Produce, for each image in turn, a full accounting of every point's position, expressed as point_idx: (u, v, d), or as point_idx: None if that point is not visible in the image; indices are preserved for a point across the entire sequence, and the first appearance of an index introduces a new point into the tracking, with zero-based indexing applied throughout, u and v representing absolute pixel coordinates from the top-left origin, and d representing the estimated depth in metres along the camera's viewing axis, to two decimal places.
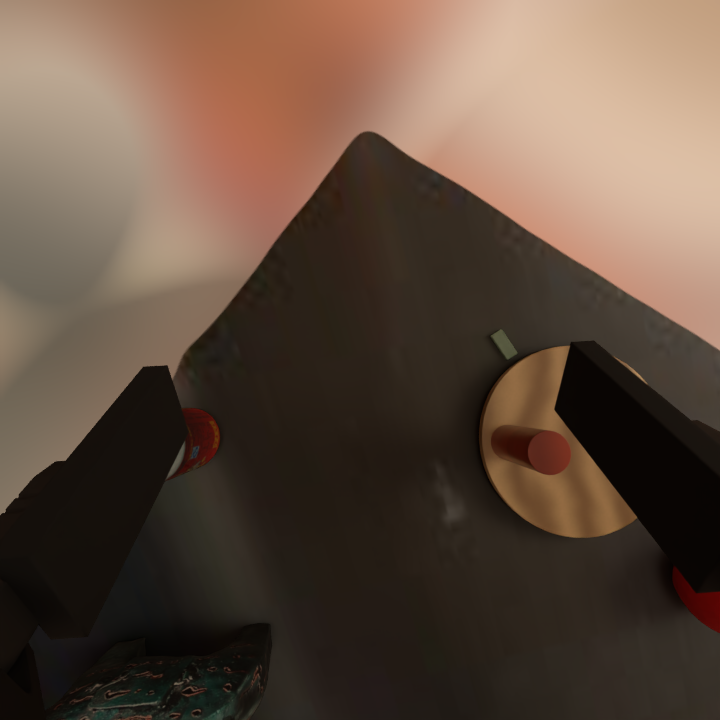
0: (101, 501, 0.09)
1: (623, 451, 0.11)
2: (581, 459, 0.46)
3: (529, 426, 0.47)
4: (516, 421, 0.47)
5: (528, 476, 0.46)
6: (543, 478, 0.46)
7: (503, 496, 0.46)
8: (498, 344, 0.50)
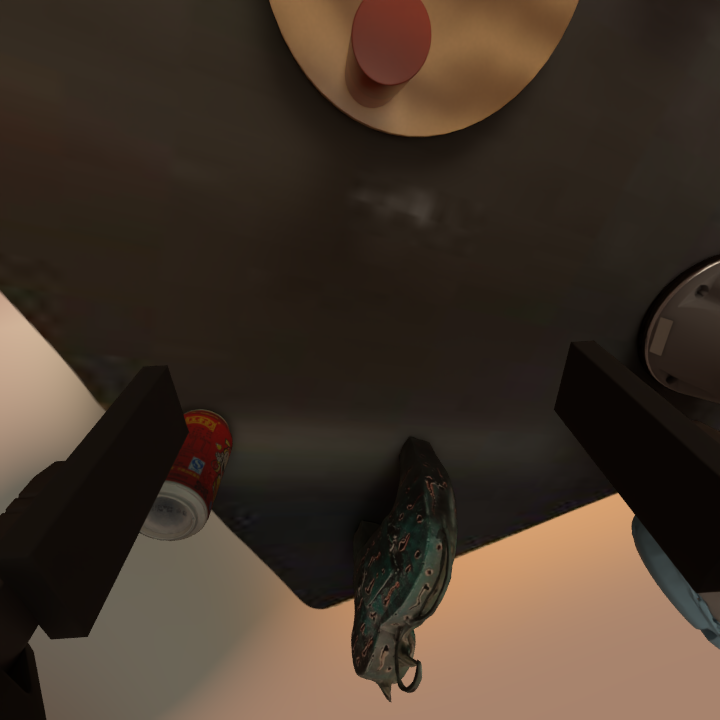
0: (101, 500, 0.09)
1: (623, 451, 0.11)
2: None
3: None
4: (350, 38, 0.28)
5: (435, 74, 0.29)
6: (449, 50, 0.28)
7: (437, 132, 0.31)
8: None
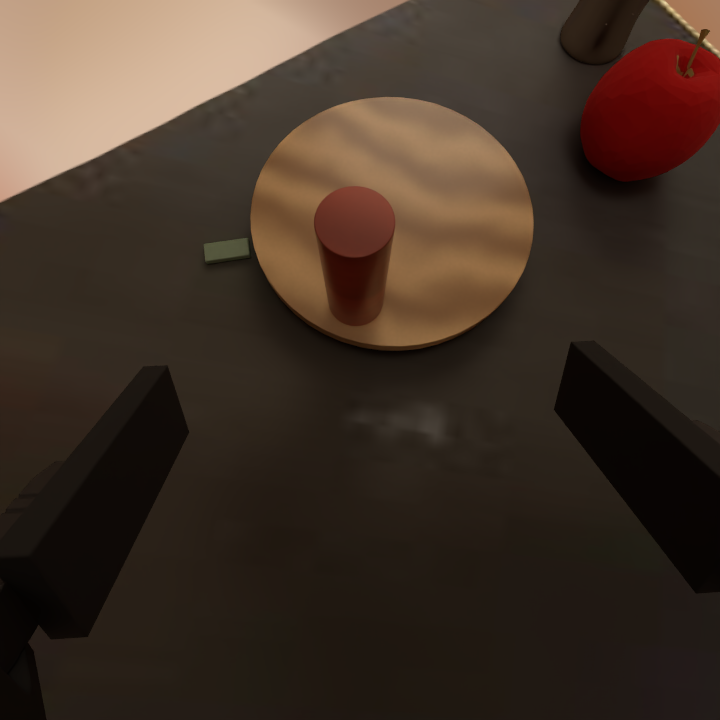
0: (101, 501, 0.09)
1: (623, 451, 0.11)
2: (421, 215, 0.31)
3: None
4: None
5: (417, 293, 0.29)
6: (426, 274, 0.30)
7: (430, 340, 0.29)
8: (222, 257, 0.32)
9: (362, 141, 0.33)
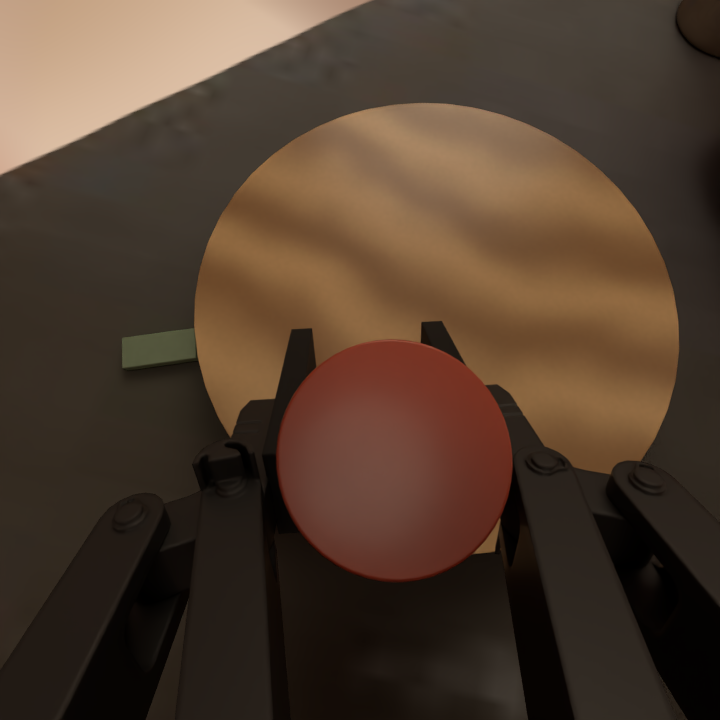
0: None
1: None
2: (486, 303, 0.18)
3: None
4: None
5: None
6: None
7: None
8: (151, 361, 0.20)
9: (385, 174, 0.20)
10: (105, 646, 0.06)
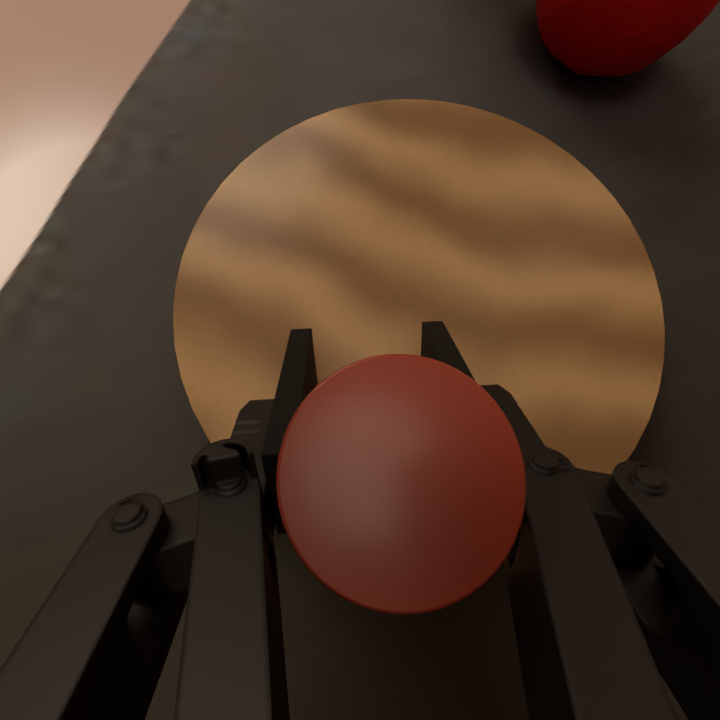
0: None
1: None
2: (472, 298, 0.18)
3: None
4: None
5: None
6: None
7: None
8: None
9: (358, 174, 0.20)
10: (104, 647, 0.06)
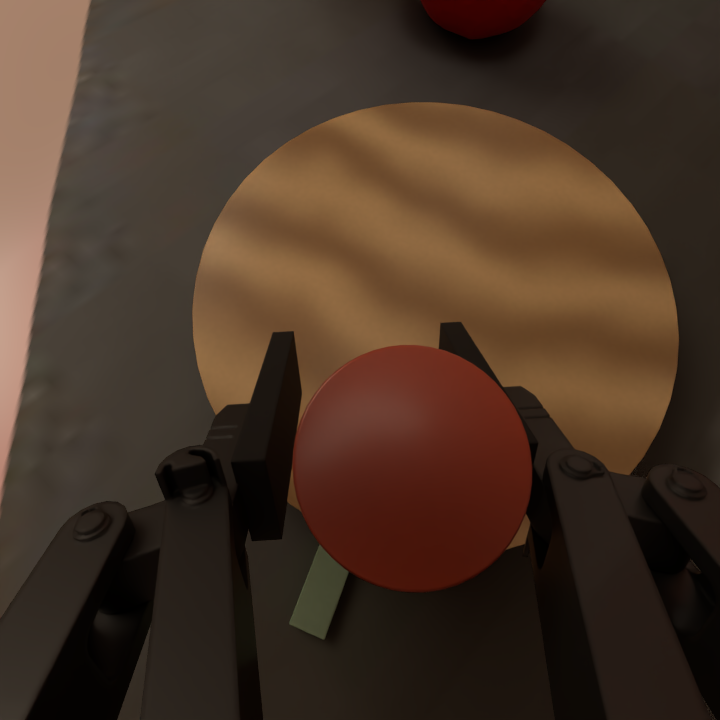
0: (280, 432, 0.11)
1: None
2: (486, 300, 0.18)
3: None
4: None
5: None
6: None
7: (520, 541, 0.16)
8: (333, 602, 0.17)
9: (379, 175, 0.20)
10: (66, 658, 0.06)
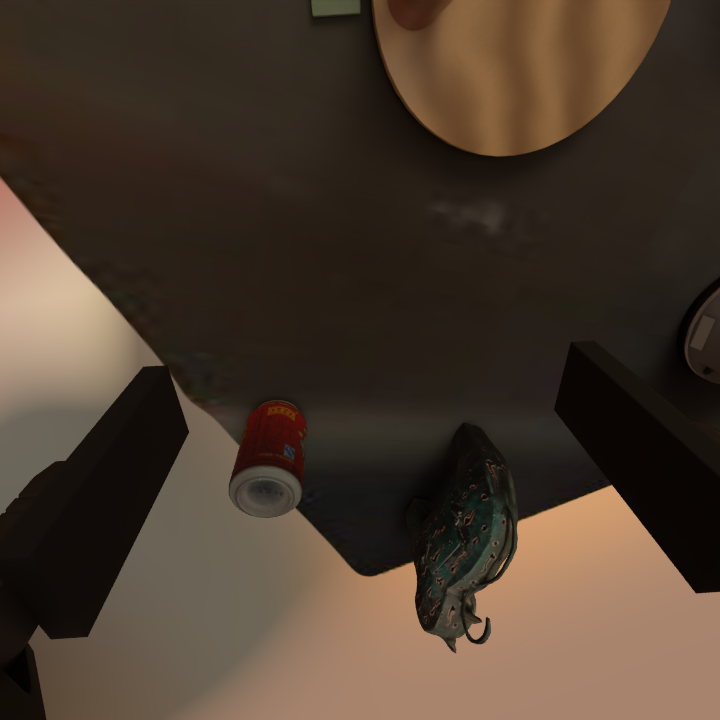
0: (101, 500, 0.09)
1: (623, 451, 0.11)
2: (530, 22, 0.29)
3: None
4: None
5: (445, 61, 0.30)
6: (467, 62, 0.30)
7: (405, 99, 0.31)
8: (331, 12, 0.30)
9: None
10: None
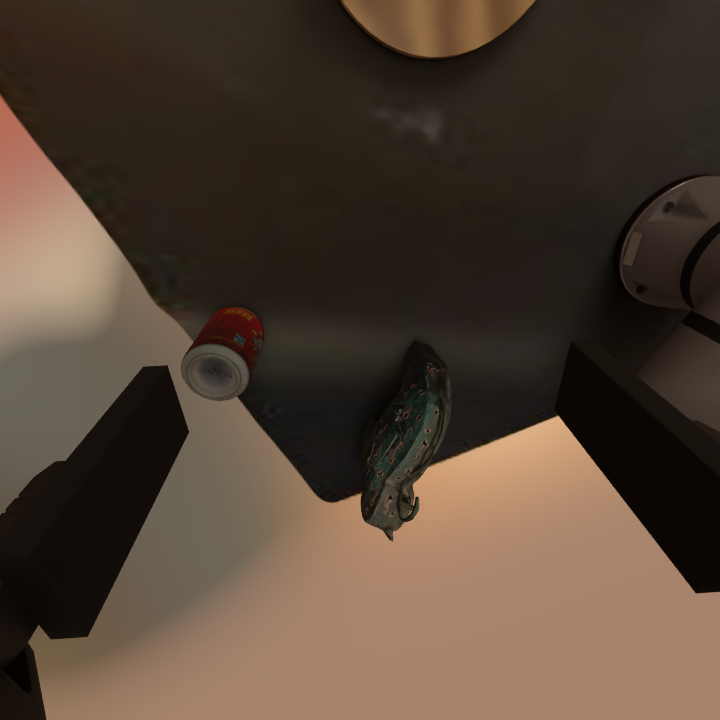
0: (101, 501, 0.09)
1: (623, 451, 0.11)
2: None
3: None
4: None
5: None
6: None
7: None
8: None
9: None
10: None
